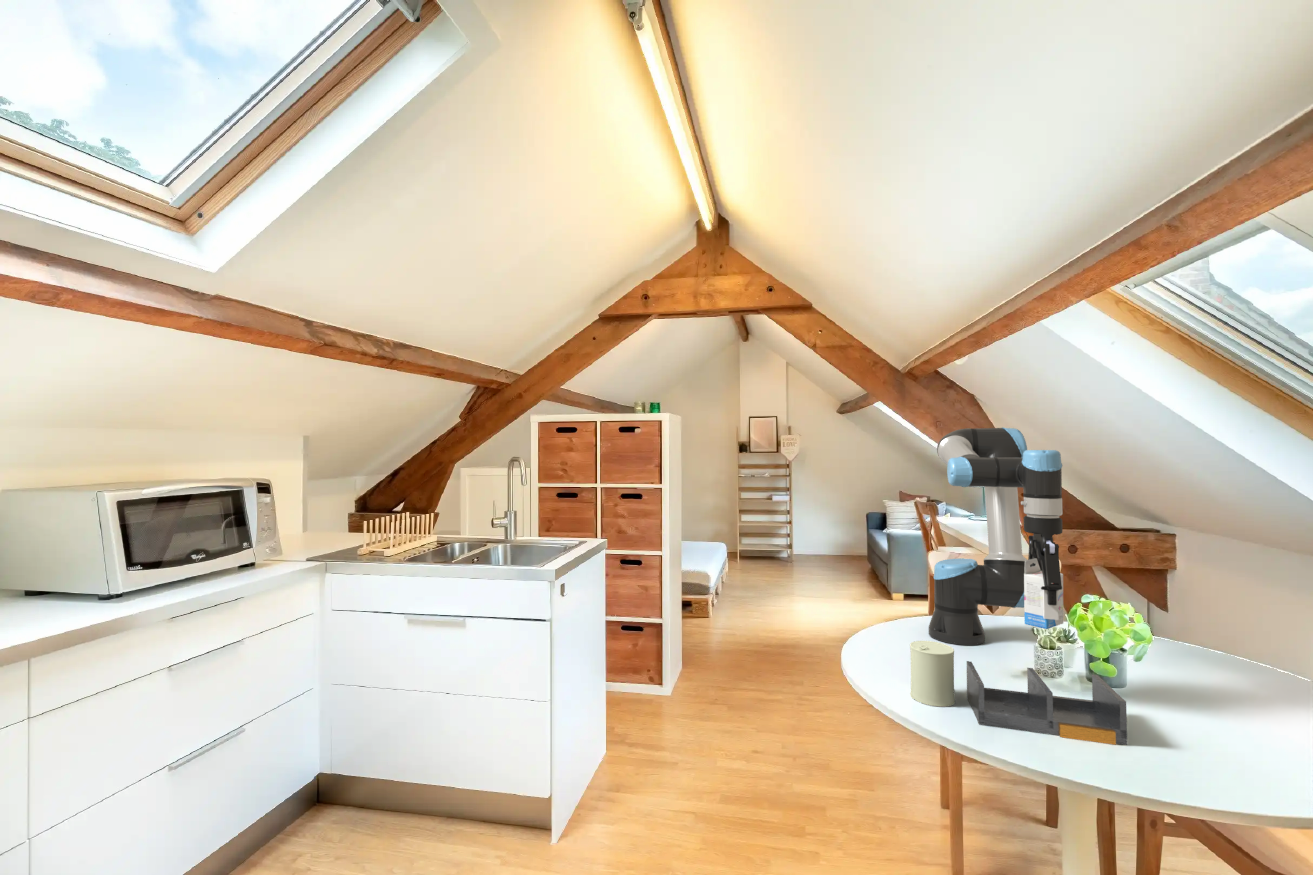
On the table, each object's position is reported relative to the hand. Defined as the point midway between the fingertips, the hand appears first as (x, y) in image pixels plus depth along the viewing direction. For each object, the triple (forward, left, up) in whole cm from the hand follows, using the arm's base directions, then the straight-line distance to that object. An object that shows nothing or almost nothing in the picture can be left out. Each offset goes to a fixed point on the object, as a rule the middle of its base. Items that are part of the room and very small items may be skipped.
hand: (1044, 612), depth 134 cm
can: (+11, -25, -19) cm, 33 cm away
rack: (+15, -5, -19) cm, 25 cm away
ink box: (0, 0, -3) cm, 3 cm away
